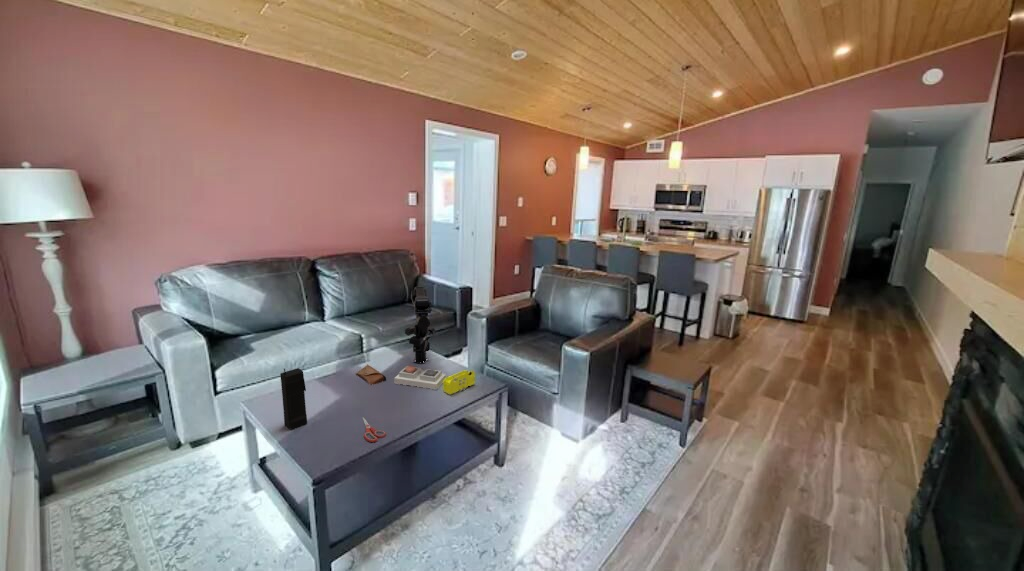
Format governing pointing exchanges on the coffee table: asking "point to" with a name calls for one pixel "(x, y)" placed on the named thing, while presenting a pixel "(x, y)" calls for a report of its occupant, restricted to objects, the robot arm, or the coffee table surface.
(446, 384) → the yellow toy chassis
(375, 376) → the sunglasses case
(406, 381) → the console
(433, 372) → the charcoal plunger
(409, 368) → the pink rounded ball
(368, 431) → the scissors
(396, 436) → the coffee table surface
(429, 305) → the robot arm
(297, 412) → the portable radio
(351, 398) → the coffee table surface
